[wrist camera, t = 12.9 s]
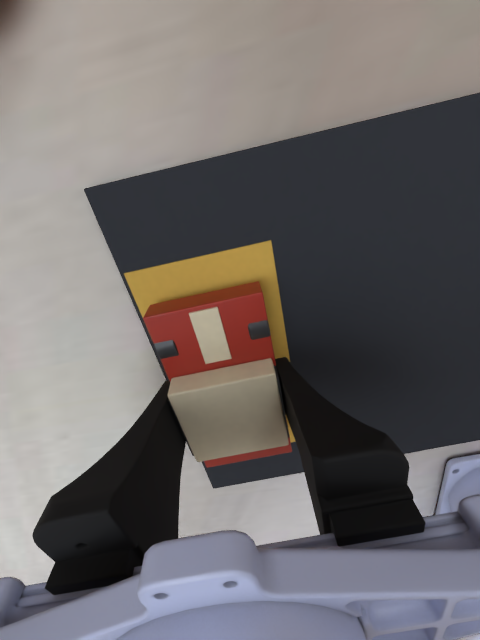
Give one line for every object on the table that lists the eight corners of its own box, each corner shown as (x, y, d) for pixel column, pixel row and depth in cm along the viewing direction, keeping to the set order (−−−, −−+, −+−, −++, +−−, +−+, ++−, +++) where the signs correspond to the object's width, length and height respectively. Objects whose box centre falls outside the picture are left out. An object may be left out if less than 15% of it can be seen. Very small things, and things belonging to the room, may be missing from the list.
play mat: (507, 428, 20) (514, 435, 19) (213, 482, 21) (213, 490, 20) (638, 54, 10) (660, 48, 10) (88, 188, 11) (81, 189, 11)
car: (297, 472, 15) (205, 489, 15) (286, 426, 18) (207, 441, 18) (266, 304, 10) (133, 332, 10) (257, 276, 13) (151, 299, 13)
